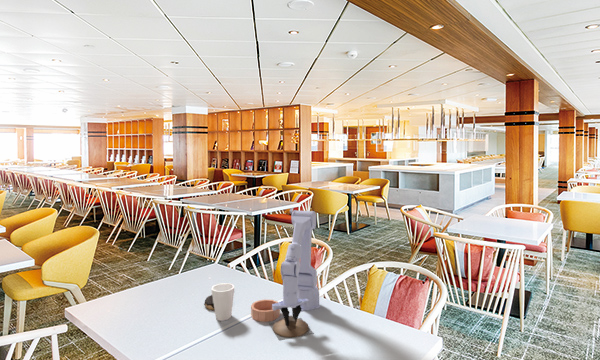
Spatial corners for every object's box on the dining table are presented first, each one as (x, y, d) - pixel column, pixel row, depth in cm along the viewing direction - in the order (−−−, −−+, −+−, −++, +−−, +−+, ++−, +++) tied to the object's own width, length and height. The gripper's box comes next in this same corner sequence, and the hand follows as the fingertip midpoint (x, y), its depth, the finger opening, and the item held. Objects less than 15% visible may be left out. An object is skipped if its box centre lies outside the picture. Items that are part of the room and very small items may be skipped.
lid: (300, 317, 156) (300, 308, 156) (313, 333, 143) (313, 323, 143) (268, 323, 151) (268, 314, 151) (279, 340, 138) (278, 329, 138)
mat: (300, 318, 156) (300, 317, 156) (313, 334, 143) (313, 333, 143) (268, 324, 151) (268, 323, 151) (279, 341, 138) (279, 340, 138)
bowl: (275, 307, 167) (275, 297, 166) (283, 319, 156) (283, 308, 155) (248, 312, 163) (248, 302, 162) (255, 324, 151) (255, 313, 151)
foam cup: (229, 323, 152) (228, 292, 151) (208, 321, 154) (207, 290, 153) (238, 313, 161) (237, 284, 160) (218, 311, 163) (217, 282, 162)
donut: (232, 300, 175) (232, 292, 175) (225, 311, 163) (224, 303, 163) (209, 299, 176) (209, 291, 176) (200, 310, 164) (200, 302, 164)
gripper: (275, 297, 140) (275, 332, 141) (311, 292, 145) (311, 326, 146) (270, 291, 146) (270, 324, 147) (304, 286, 151) (304, 318, 152)
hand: (290, 324), depth 147 cm, fingers closed on lid, 2 cm apart
